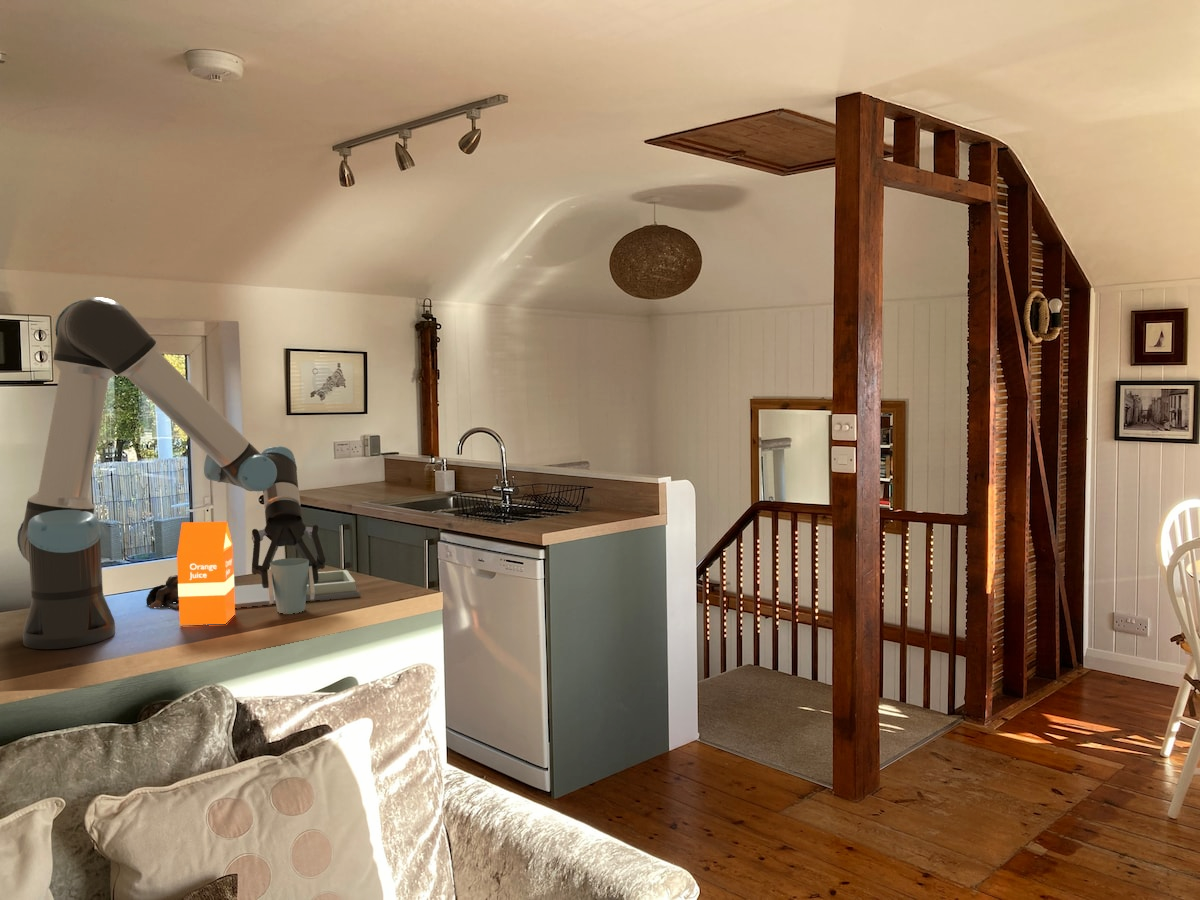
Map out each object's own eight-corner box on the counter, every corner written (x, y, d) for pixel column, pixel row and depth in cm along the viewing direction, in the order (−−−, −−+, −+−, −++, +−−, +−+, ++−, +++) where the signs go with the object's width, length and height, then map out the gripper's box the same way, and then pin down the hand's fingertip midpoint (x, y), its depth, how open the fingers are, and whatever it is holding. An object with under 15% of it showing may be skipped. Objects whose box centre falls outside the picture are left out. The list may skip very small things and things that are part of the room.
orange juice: (226, 625, 186) (222, 524, 185) (179, 626, 185) (174, 525, 183) (235, 614, 194) (232, 518, 192) (190, 616, 193) (186, 519, 191)
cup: (263, 612, 196) (262, 562, 195) (293, 604, 202) (291, 556, 201) (288, 617, 192) (287, 567, 191) (317, 609, 198) (316, 560, 197)
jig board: (233, 608, 198) (232, 594, 198) (230, 590, 214) (229, 577, 214) (359, 596, 209) (359, 583, 208) (347, 580, 224) (347, 568, 224)
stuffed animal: (159, 609, 195) (141, 569, 201) (152, 642, 200) (134, 602, 206) (216, 598, 203) (197, 560, 209) (208, 630, 208) (189, 592, 214)
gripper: (329, 515, 213) (341, 602, 200) (233, 521, 205) (239, 612, 192) (331, 495, 208) (344, 583, 195) (233, 500, 200) (239, 592, 187)
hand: (292, 597), depth 193 cm, fingers closed on cup, 7 cm apart
